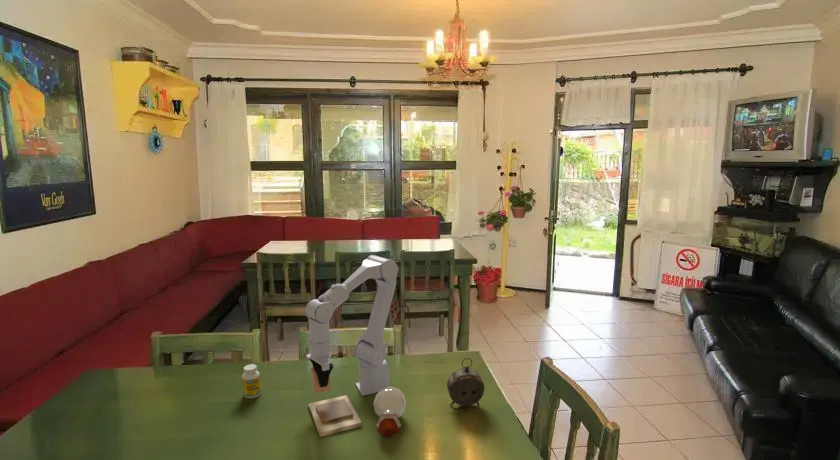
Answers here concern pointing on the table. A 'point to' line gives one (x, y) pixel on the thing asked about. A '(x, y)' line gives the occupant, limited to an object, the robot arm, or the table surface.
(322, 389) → the block
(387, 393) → the potion bottle
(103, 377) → the table surface
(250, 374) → the supplement bottle
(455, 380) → the alarm clock
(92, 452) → the table surface
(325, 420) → the base board
